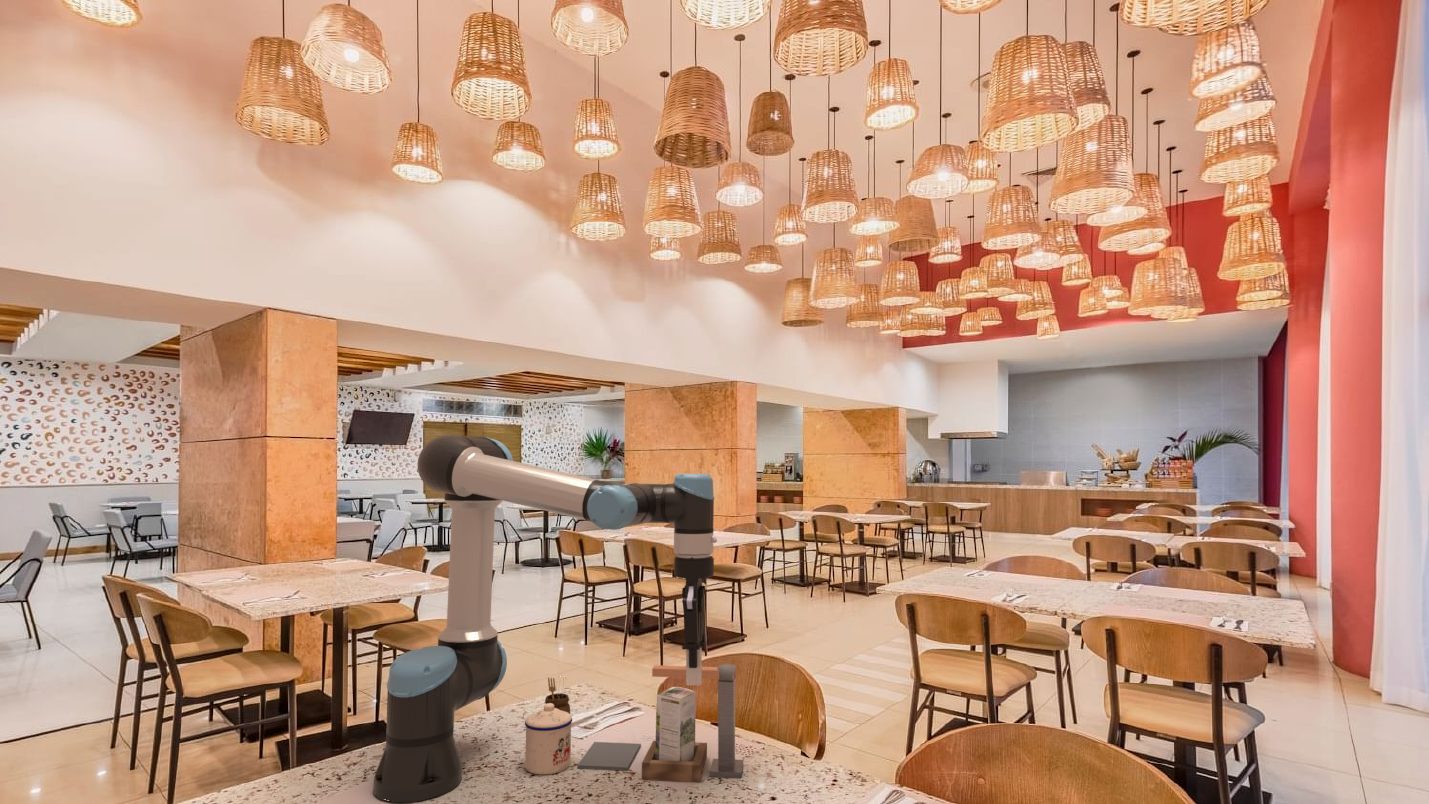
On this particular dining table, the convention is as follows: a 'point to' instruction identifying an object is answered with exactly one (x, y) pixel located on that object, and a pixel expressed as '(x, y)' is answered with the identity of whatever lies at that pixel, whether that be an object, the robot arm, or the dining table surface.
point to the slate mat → (609, 756)
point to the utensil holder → (558, 697)
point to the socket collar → (674, 766)
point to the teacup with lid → (548, 740)
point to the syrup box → (675, 725)
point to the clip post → (726, 734)
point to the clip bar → (707, 672)
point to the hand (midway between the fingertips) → (693, 684)
